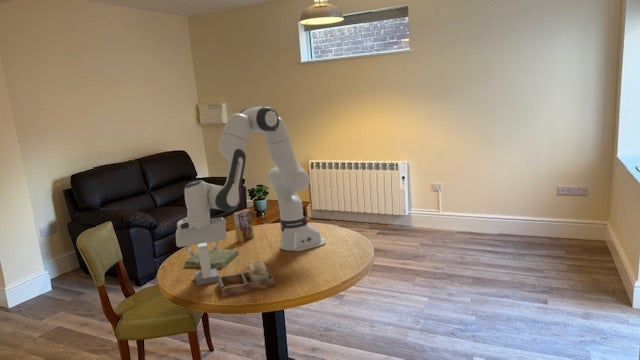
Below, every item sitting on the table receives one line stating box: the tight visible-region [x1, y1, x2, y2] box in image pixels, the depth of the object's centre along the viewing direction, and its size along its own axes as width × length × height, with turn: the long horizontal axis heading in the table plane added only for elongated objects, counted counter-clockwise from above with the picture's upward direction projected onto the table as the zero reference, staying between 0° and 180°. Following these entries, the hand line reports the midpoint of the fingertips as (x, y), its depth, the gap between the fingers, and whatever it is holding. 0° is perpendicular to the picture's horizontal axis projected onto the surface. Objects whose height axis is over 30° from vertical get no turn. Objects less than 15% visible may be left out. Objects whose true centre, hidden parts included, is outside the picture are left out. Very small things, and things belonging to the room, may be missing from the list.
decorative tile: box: [183, 248, 240, 269], centre depth 211 cm, size 19×20×4 cm
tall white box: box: [197, 242, 212, 278], centre depth 188 cm, size 4×9×12 cm, turn 19°
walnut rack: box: [218, 266, 275, 297], centre depth 180 cm, size 20×13×4 cm, turn 109°
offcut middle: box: [248, 269, 269, 282], centre depth 182 cm, size 6×8×2 cm
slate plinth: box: [194, 268, 220, 287], centre depth 189 cm, size 9×9×2 cm
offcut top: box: [249, 262, 267, 277], centre depth 181 cm, size 6×8×2 cm
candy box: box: [232, 208, 255, 243], centre depth 239 cm, size 9×4×15 cm, turn 140°
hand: (203, 253), depth 187 cm, fingers open, 8 cm apart
